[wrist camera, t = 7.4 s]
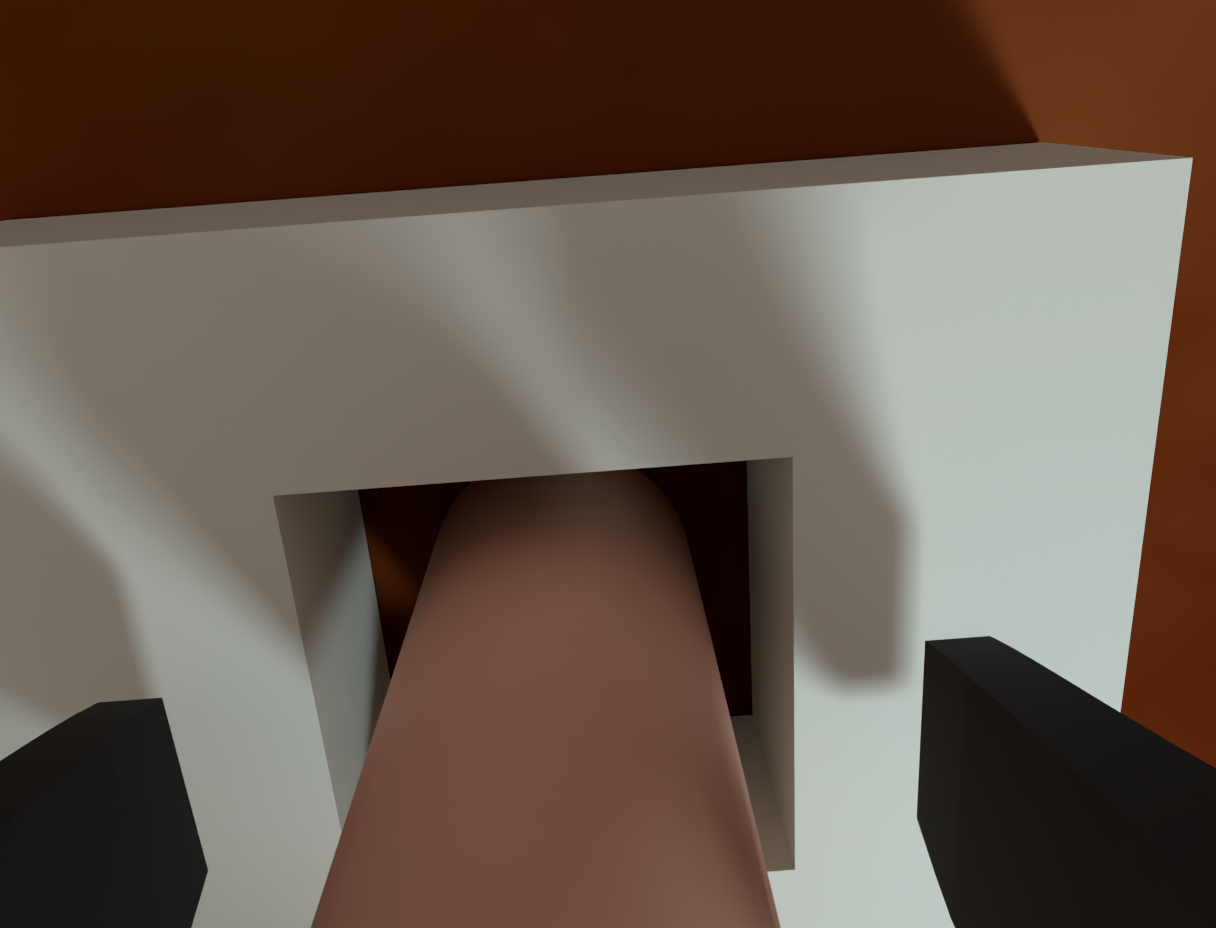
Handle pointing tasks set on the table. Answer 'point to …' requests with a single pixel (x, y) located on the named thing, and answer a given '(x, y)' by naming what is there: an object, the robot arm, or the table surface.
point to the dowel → (554, 730)
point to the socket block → (586, 459)
